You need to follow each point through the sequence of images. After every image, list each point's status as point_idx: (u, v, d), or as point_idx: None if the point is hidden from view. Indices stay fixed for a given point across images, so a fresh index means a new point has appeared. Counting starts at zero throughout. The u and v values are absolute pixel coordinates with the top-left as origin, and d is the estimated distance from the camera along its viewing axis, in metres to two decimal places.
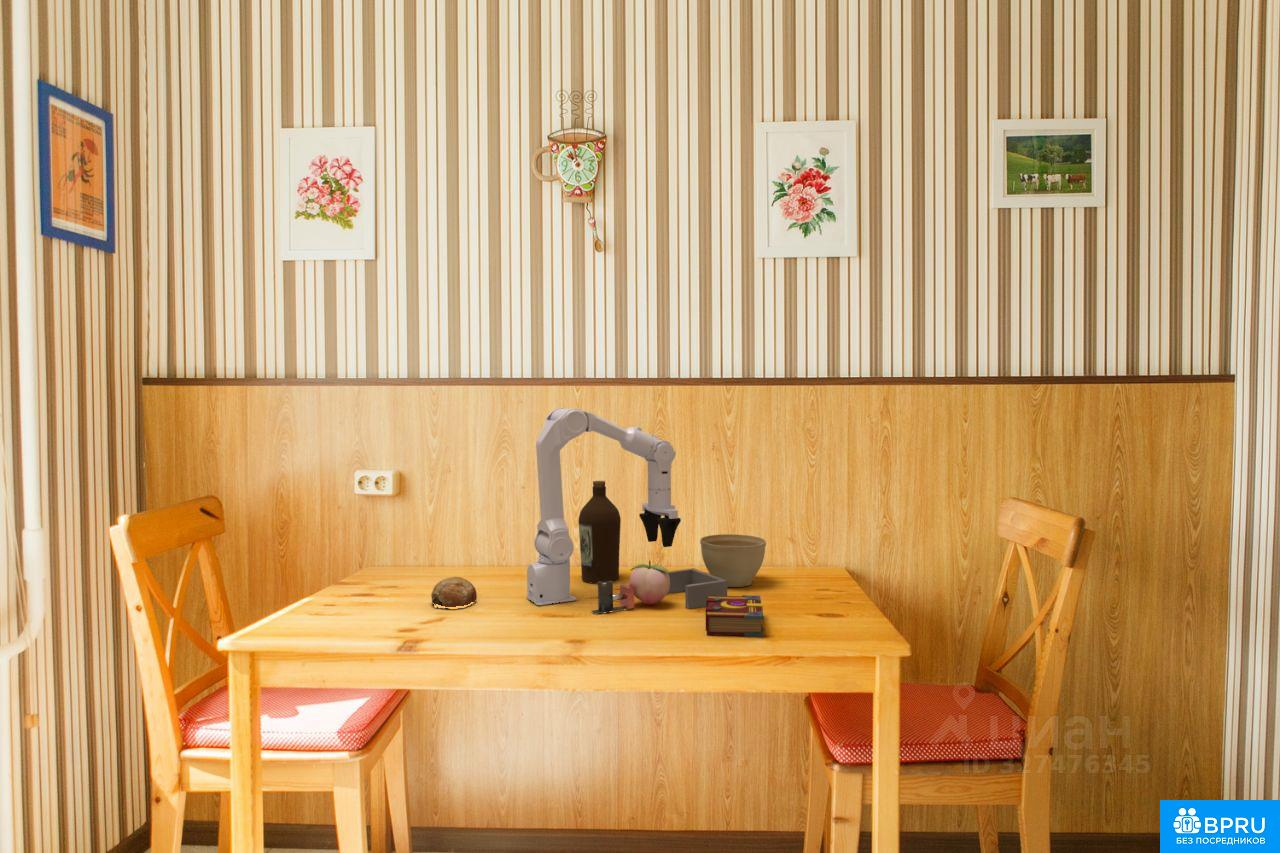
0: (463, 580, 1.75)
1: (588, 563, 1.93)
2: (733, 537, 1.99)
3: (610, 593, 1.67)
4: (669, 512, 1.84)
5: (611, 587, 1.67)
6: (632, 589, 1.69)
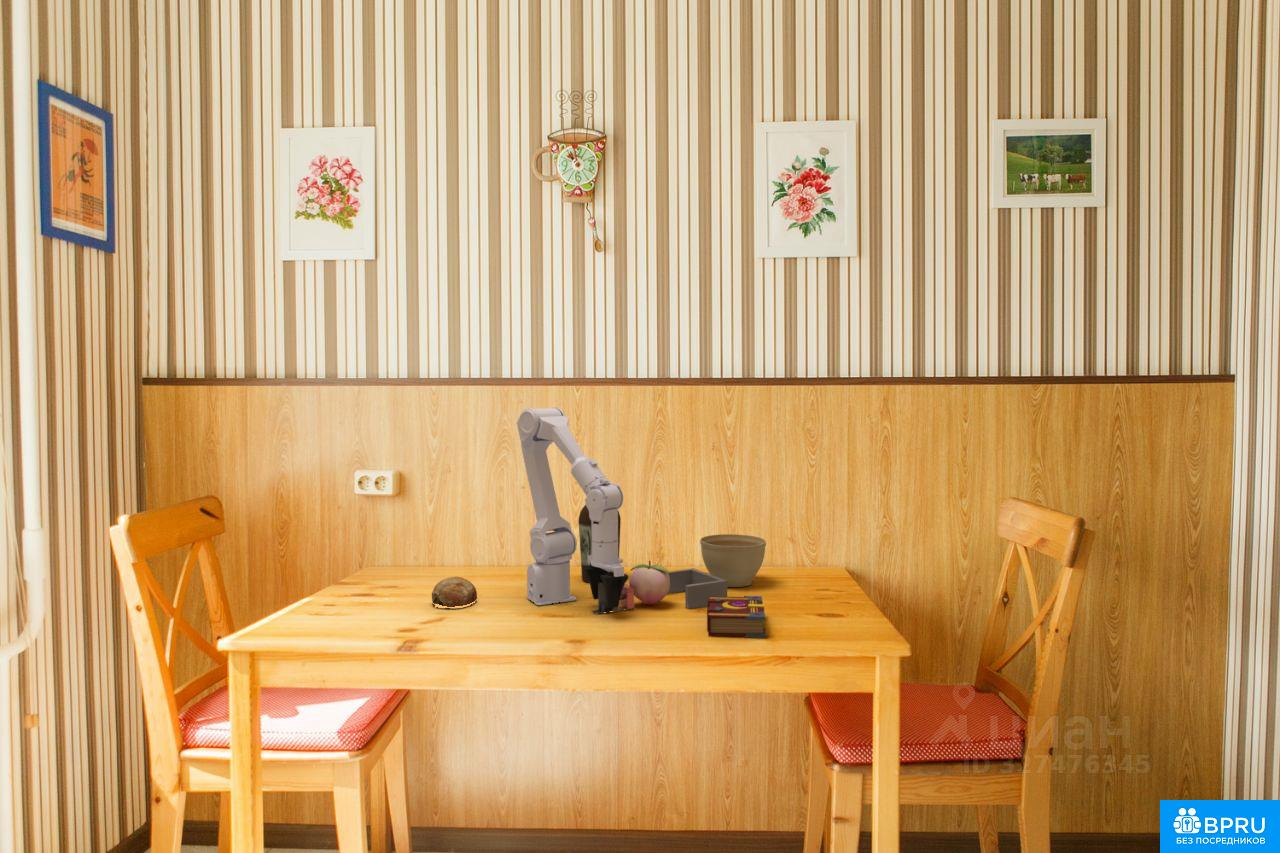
0: (463, 580, 1.75)
1: None
2: (733, 537, 1.99)
3: None
4: (614, 569, 1.61)
5: None
6: (632, 589, 1.69)
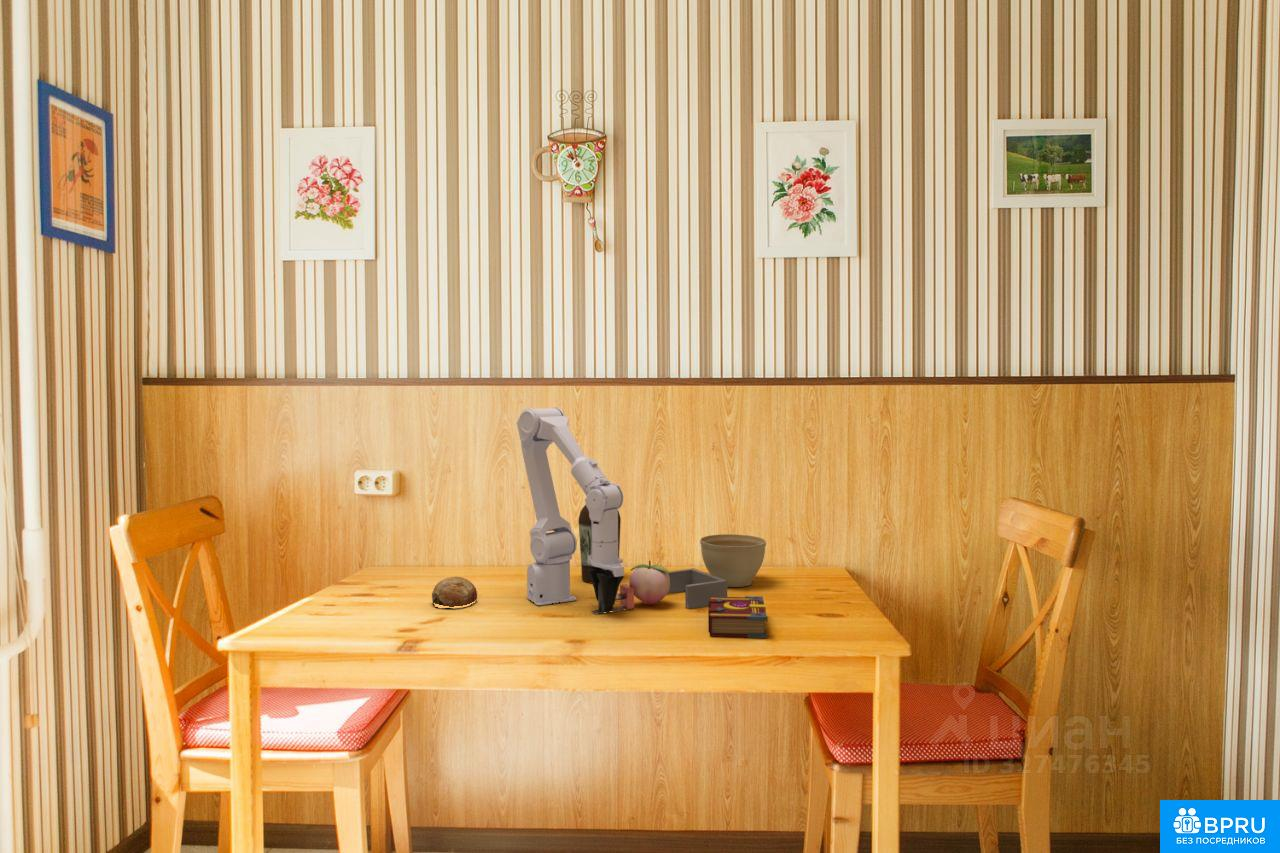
0: (464, 580, 1.75)
1: None
2: (733, 537, 1.99)
3: None
4: (614, 569, 1.61)
5: None
6: (632, 589, 1.69)
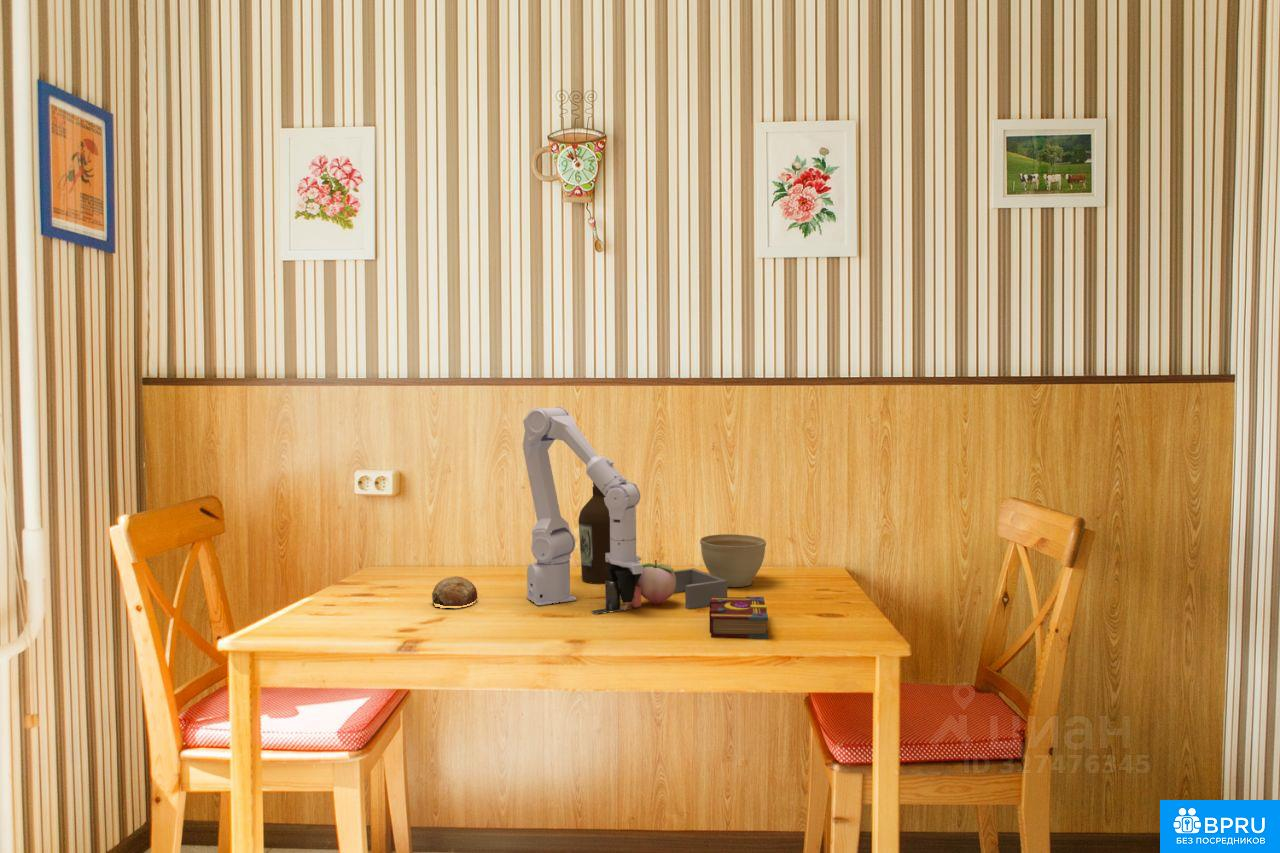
0: (464, 580, 1.75)
1: (588, 563, 1.93)
2: (733, 537, 1.99)
3: (617, 592, 1.67)
4: (632, 567, 1.63)
5: (618, 586, 1.68)
6: (639, 588, 1.70)
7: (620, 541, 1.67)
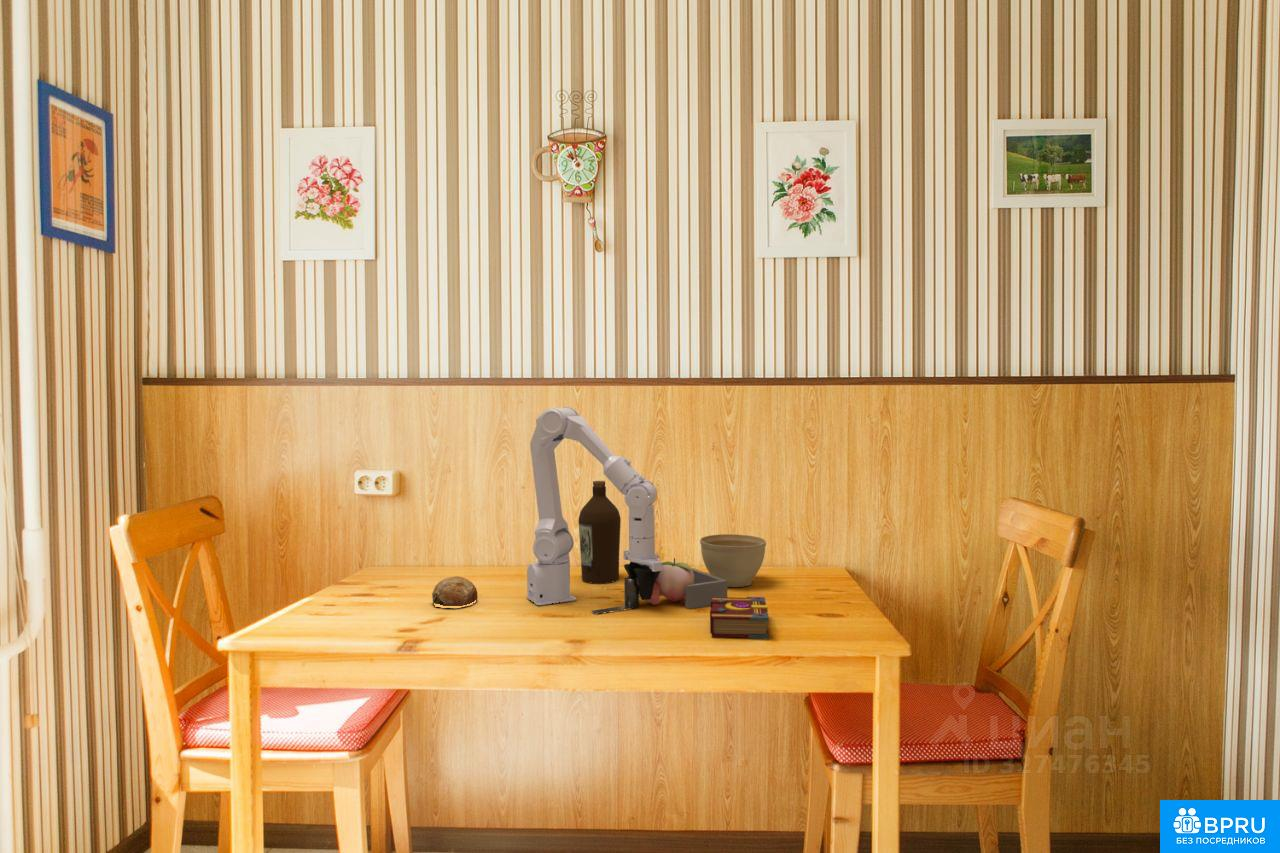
0: (464, 580, 1.75)
1: (588, 563, 1.93)
2: (733, 537, 1.99)
3: (636, 590, 1.70)
4: (652, 564, 1.65)
5: (637, 583, 1.70)
6: (658, 585, 1.72)
7: (639, 539, 1.69)
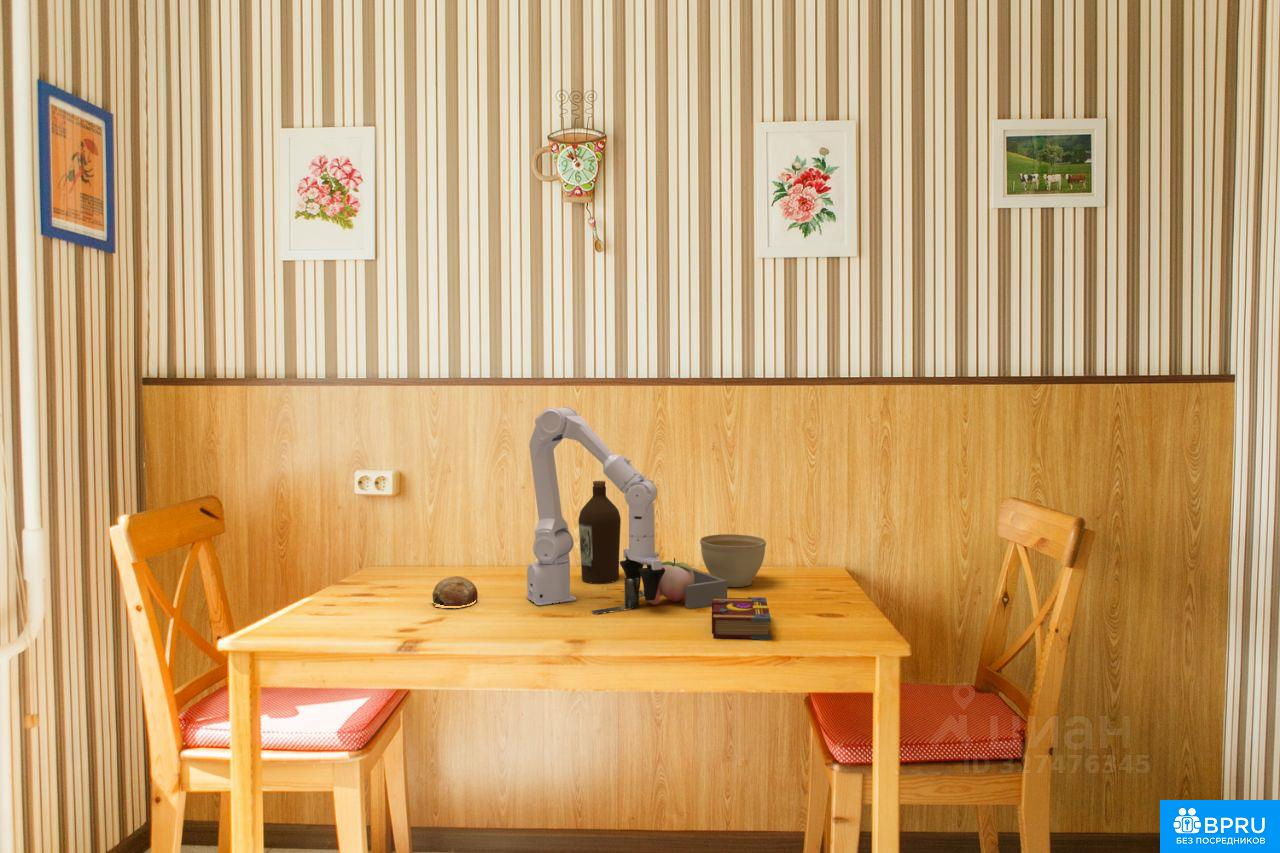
0: (464, 580, 1.75)
1: (588, 563, 1.93)
2: (733, 537, 1.99)
3: (636, 590, 1.70)
4: (652, 563, 1.65)
5: (637, 583, 1.70)
6: None
7: (639, 537, 1.69)
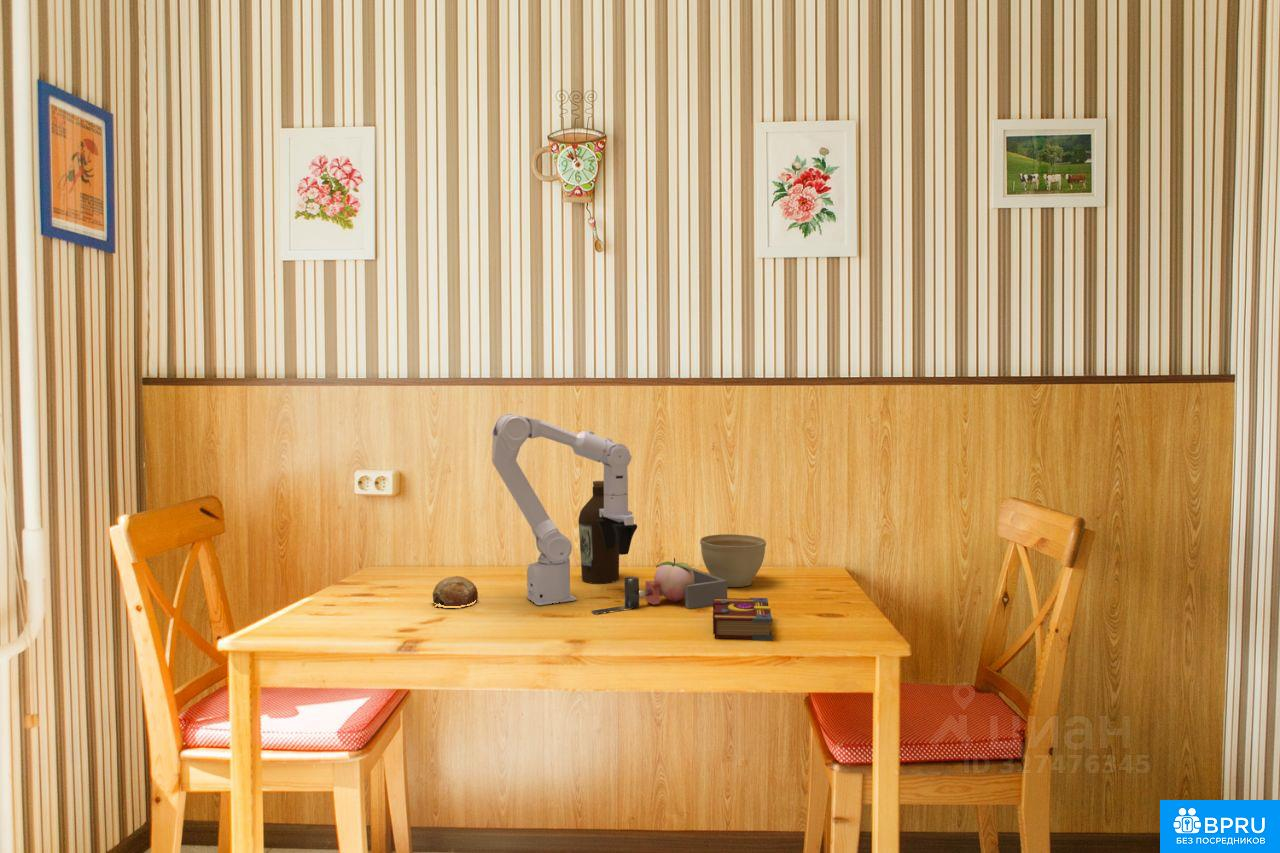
0: (464, 579, 1.76)
1: (588, 563, 1.93)
2: (733, 537, 1.99)
3: (636, 590, 1.70)
4: (624, 518, 1.76)
5: (637, 583, 1.70)
6: (658, 585, 1.72)
7: (613, 496, 1.80)
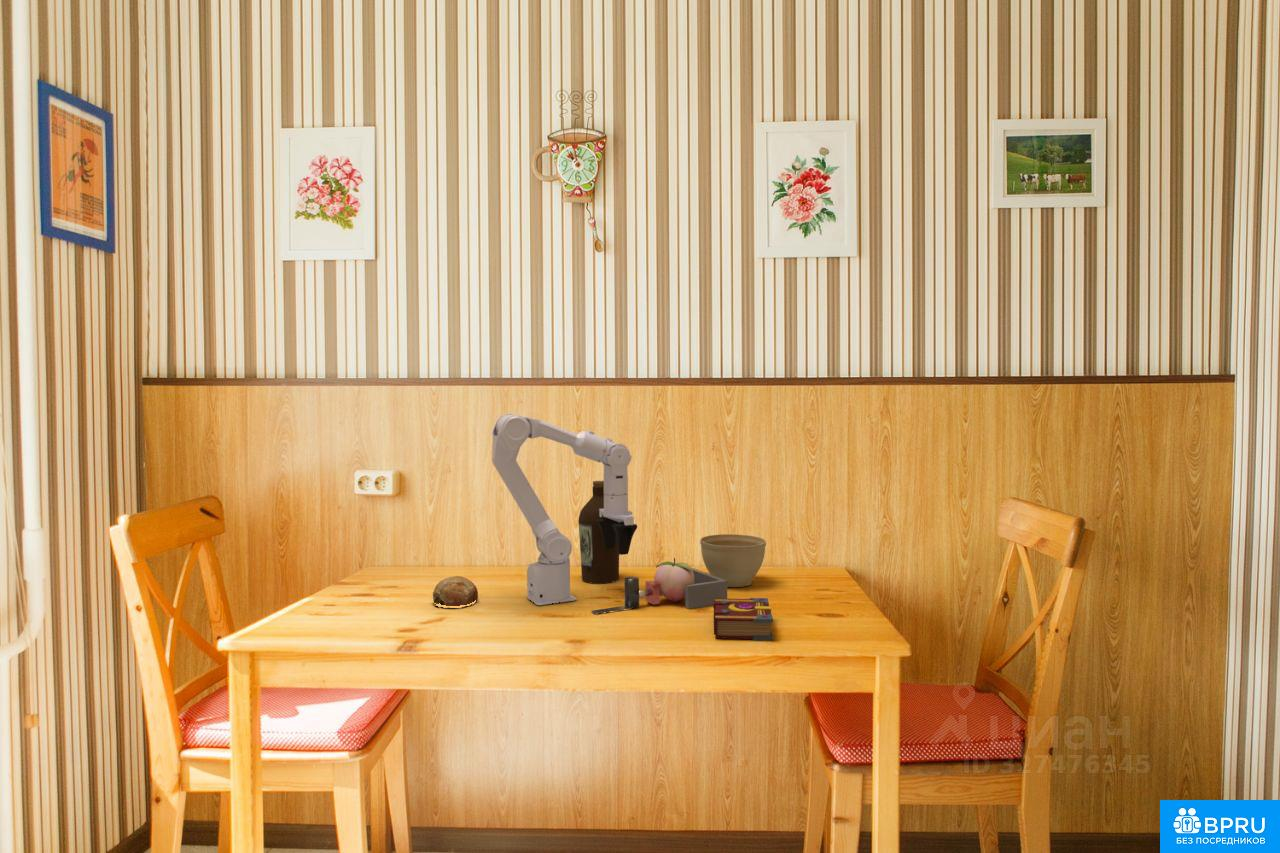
0: (464, 579, 1.76)
1: (588, 563, 1.93)
2: (733, 537, 1.99)
3: (636, 590, 1.70)
4: (624, 518, 1.76)
5: (637, 583, 1.70)
6: (658, 585, 1.72)
7: (613, 496, 1.80)
